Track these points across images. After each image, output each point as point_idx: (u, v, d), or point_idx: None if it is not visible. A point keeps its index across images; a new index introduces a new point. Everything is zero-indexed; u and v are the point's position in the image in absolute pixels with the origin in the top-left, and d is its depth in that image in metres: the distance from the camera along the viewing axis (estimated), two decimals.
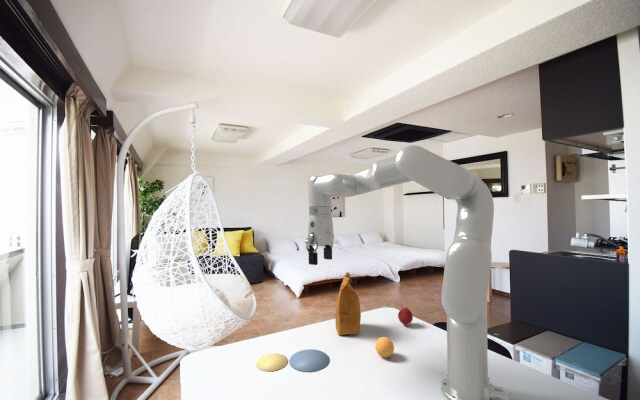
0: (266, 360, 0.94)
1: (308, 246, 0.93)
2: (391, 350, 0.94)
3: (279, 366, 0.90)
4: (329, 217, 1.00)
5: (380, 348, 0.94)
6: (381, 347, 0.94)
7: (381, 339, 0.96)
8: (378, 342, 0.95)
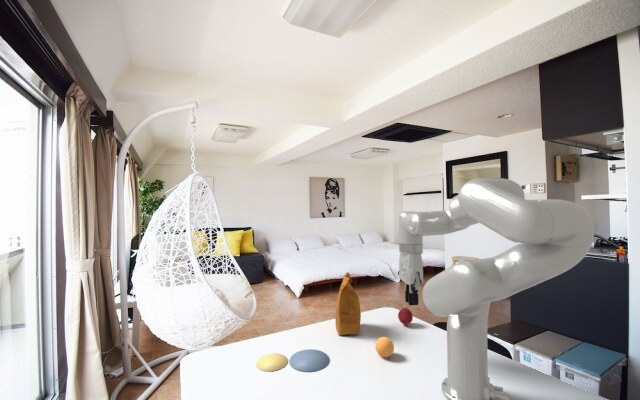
0: (266, 360, 0.94)
1: None
2: (391, 350, 0.94)
3: (279, 366, 0.90)
4: (405, 255, 0.95)
5: (380, 348, 0.94)
6: (381, 347, 0.94)
7: (381, 339, 0.96)
8: (378, 342, 0.95)
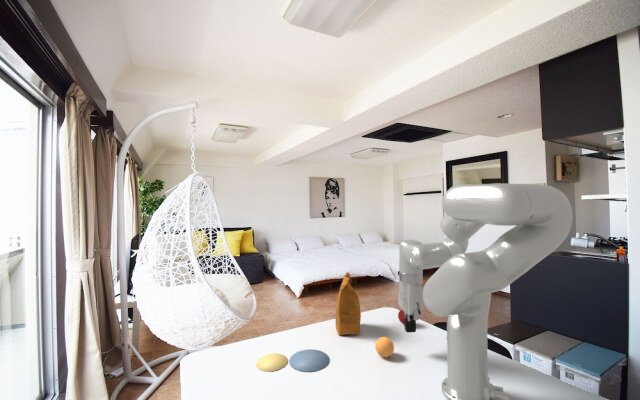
0: (266, 360, 0.94)
1: None
2: (391, 350, 0.94)
3: (279, 366, 0.90)
4: (405, 285, 0.95)
5: (380, 348, 0.94)
6: (381, 347, 0.94)
7: (381, 339, 0.96)
8: (378, 342, 0.95)
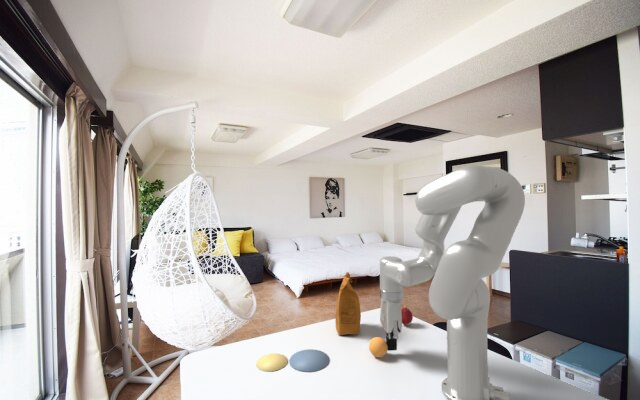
0: (266, 360, 0.94)
1: None
2: (384, 347, 0.94)
3: (279, 366, 0.90)
4: (385, 302, 0.95)
5: (373, 352, 0.94)
6: (373, 350, 0.94)
7: (371, 342, 0.95)
8: (370, 346, 0.95)
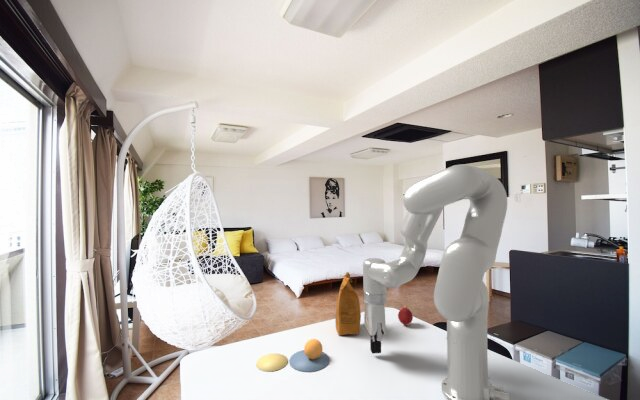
0: (266, 360, 0.94)
1: None
2: (314, 347, 0.93)
3: (279, 366, 0.90)
4: (368, 304, 0.94)
5: (310, 358, 0.93)
6: (309, 357, 0.93)
7: (304, 351, 0.95)
8: (306, 355, 0.95)
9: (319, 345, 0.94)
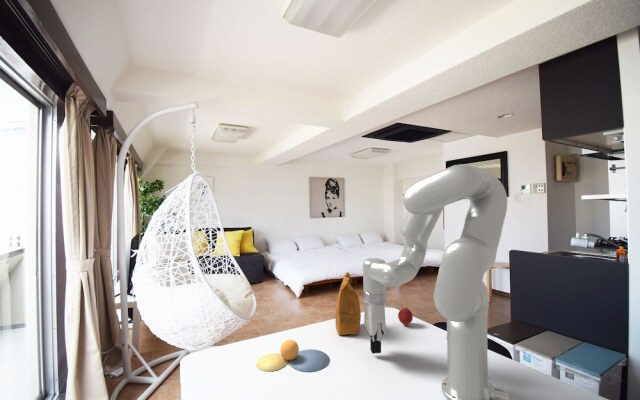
0: (266, 360, 0.94)
1: None
2: (285, 358, 0.93)
3: (279, 366, 0.90)
4: (368, 304, 0.94)
5: (294, 349, 0.93)
6: (294, 351, 0.93)
7: None
8: (298, 349, 0.94)
9: (281, 353, 0.94)
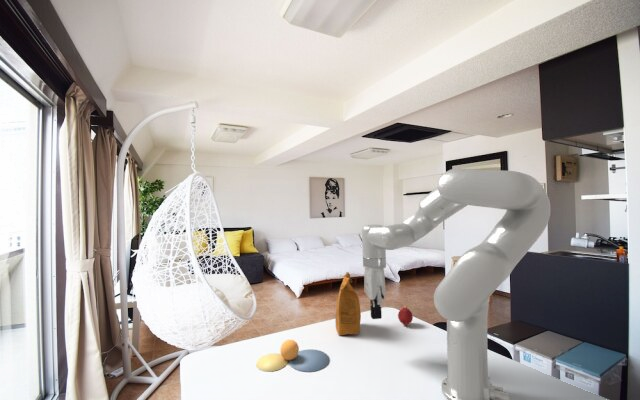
0: (266, 360, 0.94)
1: None
2: (285, 358, 0.93)
3: (279, 366, 0.90)
4: (368, 269, 0.94)
5: (294, 349, 0.93)
6: (294, 351, 0.93)
7: None
8: (298, 349, 0.94)
9: (281, 353, 0.94)
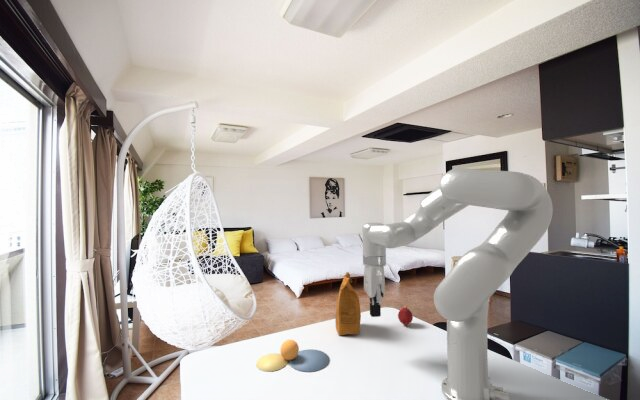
0: (266, 360, 0.94)
1: None
2: (285, 358, 0.93)
3: (279, 366, 0.90)
4: (368, 267, 0.94)
5: (294, 349, 0.93)
6: (294, 351, 0.93)
7: None
8: (298, 349, 0.94)
9: (281, 353, 0.94)
